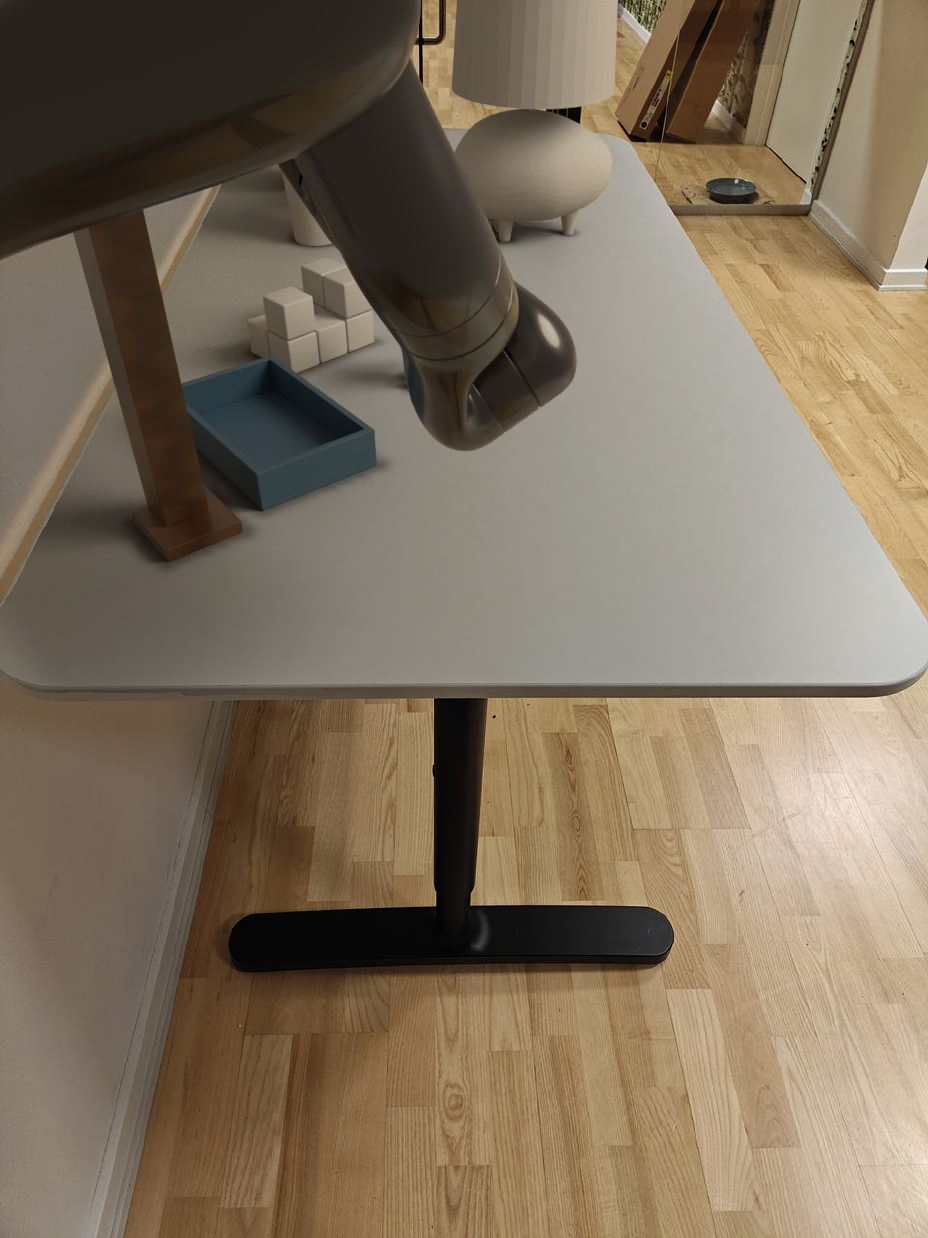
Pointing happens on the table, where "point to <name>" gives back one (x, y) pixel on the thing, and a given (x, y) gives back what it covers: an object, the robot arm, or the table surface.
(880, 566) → the table surface
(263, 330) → the puzzle cube
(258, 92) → the robot arm
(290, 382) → the tray
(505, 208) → the table lamp
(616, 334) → the table surface
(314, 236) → the coffee cup
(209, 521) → the tall wooden pedestal
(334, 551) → the table surface
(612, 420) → the table surface
